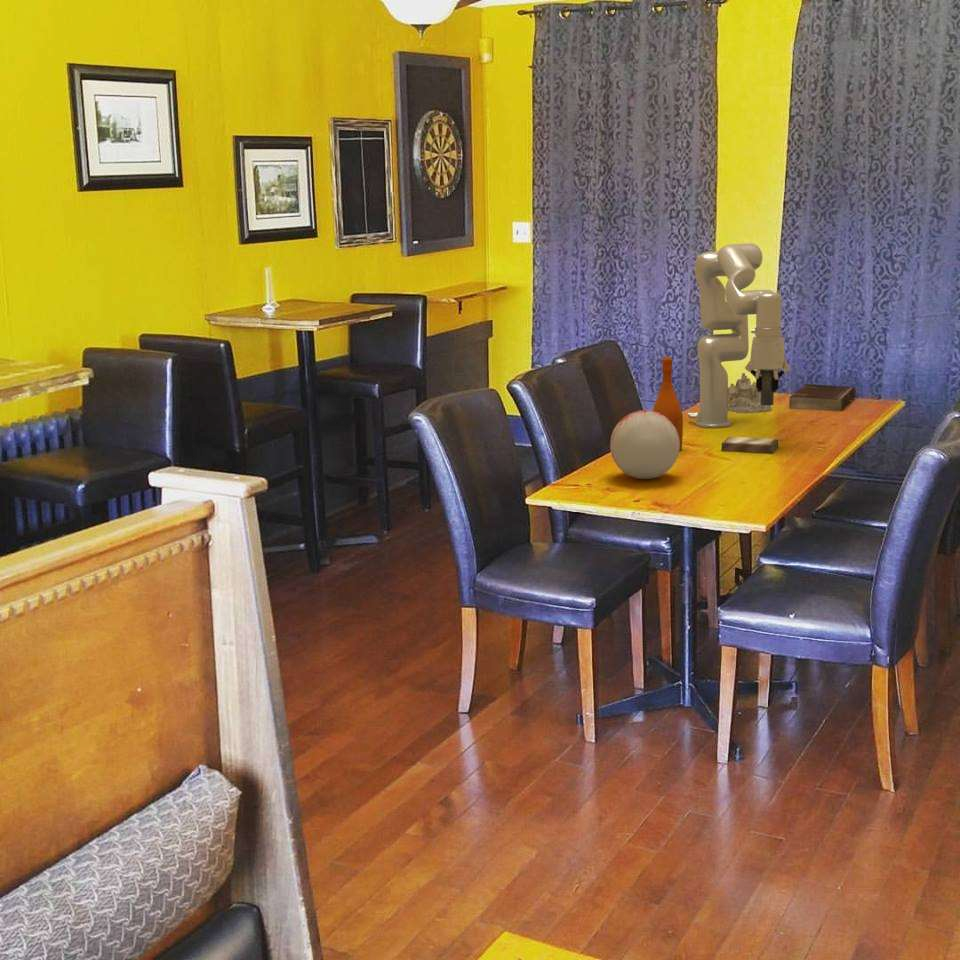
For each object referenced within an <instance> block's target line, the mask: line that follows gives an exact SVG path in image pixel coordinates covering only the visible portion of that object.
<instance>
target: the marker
mask: <svg viewBox="0 0 960 960" xmlns="http://www.w3.org/2000/svg"><path fill="white" fill-rule="evenodd" d="M773 379H774V372H773V370H761V401H760V404H761V405H771V406H773V405H774V400H775V399H774V398H775V397H774V395H775V392H773Z"/></svg>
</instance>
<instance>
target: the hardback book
mask: <svg viewBox="0 0 960 960" xmlns="http://www.w3.org/2000/svg"><path fill="white" fill-rule="evenodd" d="M856 391H857V389H856V386H846V385H825V384H813V383H812V384H810V383H806V384H804V385H803V386H802V387H801V388H800V389H798V390H797V391H796V392H794V393H792V394H791V395H790V396H789V407H788V408H789V410H804V409H806V410H807V411H824V412H825V411H827V412H829V411H831V412H842V411H843V410H844V409H845V408H846V407H847V406H848V405H849V404H850V403H851V402H852V401H853V400H854V399H855V398H856V397H857V396H856V394H857V392H856ZM850 400H852V401H850ZM849 402H850V403H849ZM808 409H809V410H808Z"/></svg>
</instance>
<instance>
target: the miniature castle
mask: <svg viewBox="0 0 960 960" xmlns="http://www.w3.org/2000/svg"><path fill="white" fill-rule="evenodd" d="M741 373H742V374H741V377H740V378H739V379H737V380H736V383H735V384H734V382H733V383H730V385H729V386H728V412H730V411H731V412H730V413H734V412H736V413H735V414H757V413H758V414H759V413H768V412H772V410H773V409H772V405H761V404H760V401H761V391H760V392H758V389H756V381H753V382H752V381H751V378H750V377H749V378H748V376H747V375H746V373H745V372H741Z"/></svg>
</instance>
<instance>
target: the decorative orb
mask: <svg viewBox="0 0 960 960" xmlns="http://www.w3.org/2000/svg"><path fill="white" fill-rule="evenodd" d="M609 449H610V454H611V457H612V459H613V462H614V463H615V464H616V466H617V467H618V468H619V469H620V471H621V472H623V473H624V474H626V475H628V476H629V477H632V478H633V479H638V480H652V479H655V478H658V477H660V476H663V475H664V474H666V473H667V472H668V471H670V470H671V468H672V467H673V466H674V464H675V463H676V461H677V459H678V456H679V453H680V450H681V449H680V441H679V435H678V432H677V430H676V428H675V427H674V425H673V424H672V422H671V421H670V420H669V419H668V418H666V417H665V416H663V415H662V414H660V413H657V412H654V411H653V410H647V409H643V410H636V411H633V412H631V413H628V414H627V415H625V416H623V418H621V420H619V422H618V423H617V424H616V425H615V427H614V429H613V431H612V433H611V436H610V441H609ZM679 449H680V450H679Z"/></svg>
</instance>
